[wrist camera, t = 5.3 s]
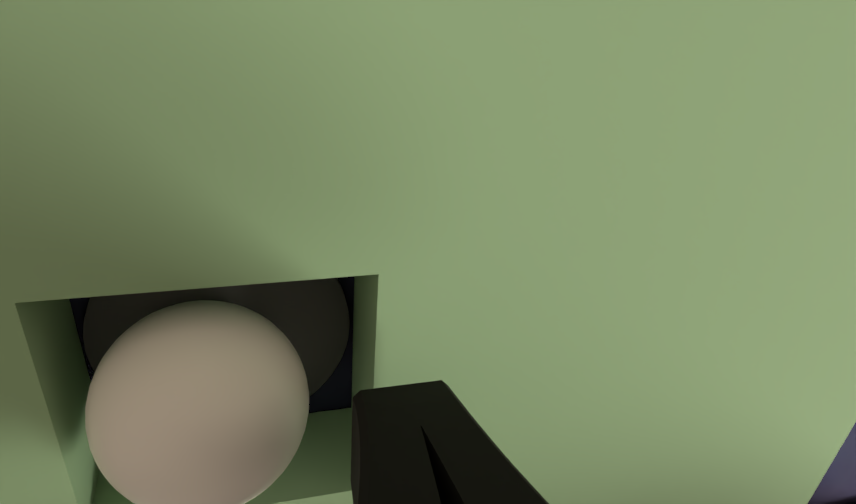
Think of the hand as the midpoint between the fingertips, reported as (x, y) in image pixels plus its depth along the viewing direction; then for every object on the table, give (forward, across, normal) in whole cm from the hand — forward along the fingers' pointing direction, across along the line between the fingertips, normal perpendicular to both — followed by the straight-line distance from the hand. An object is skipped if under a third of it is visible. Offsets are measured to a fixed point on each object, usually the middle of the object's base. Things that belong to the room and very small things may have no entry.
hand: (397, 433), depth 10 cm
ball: (+3, +3, 0) cm, 4 cm away
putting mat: (+3, -2, 0) cm, 4 cm away
